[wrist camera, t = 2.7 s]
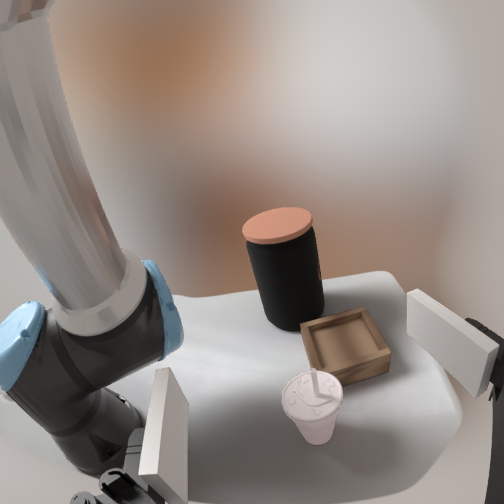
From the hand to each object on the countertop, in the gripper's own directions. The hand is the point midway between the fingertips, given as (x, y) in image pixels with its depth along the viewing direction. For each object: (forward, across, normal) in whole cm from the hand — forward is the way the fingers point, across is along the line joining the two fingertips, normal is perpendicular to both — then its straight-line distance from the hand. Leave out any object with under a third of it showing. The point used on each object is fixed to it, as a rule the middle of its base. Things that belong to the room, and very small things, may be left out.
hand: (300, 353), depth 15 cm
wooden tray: (+22, +10, -20) cm, 31 cm away
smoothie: (+12, +2, -23) cm, 26 cm away
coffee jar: (+35, +6, -18) cm, 40 cm away
